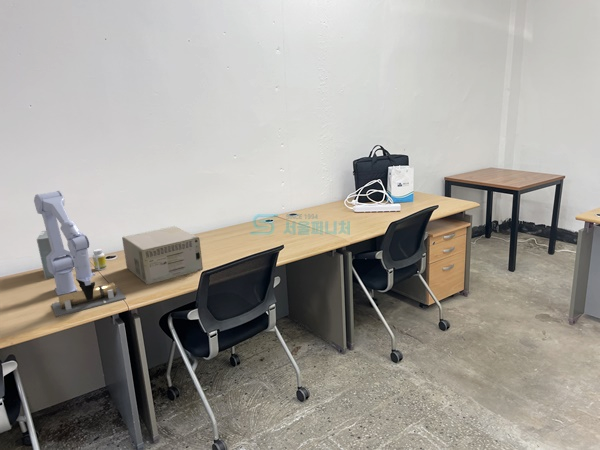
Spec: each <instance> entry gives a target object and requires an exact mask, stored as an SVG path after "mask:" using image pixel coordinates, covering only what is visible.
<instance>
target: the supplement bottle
mask: <svg viewBox="0 0 600 450" xmlns="http://www.w3.org/2000/svg"><path fill="white" fill-rule="evenodd" d="M106 260H107V259H106V256H105V253H103V249H102V248H97V249H96V248H95V249H94V250H93V255H92V261H93V265H94V270H95V271H103V270H106V269H107V267H108V266H107V262H106Z"/></svg>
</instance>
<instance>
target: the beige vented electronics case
mask: <svg viewBox="0 0 600 450" xmlns="http://www.w3.org/2000/svg"><path fill="white" fill-rule="evenodd" d="M121 239H122V245H123V253H124V257H125V258H124V259H125V264H126V265H125V266H126V269H128V271H130V272H131V273H132V274H134V275H135V277H136V276H137V278H138V279H140V280H141V281H142V282H144V283H145V284H146V285H151V284H155V283H158V282H162V281H165V280H168V279H172V278H177V277H180V276H183V275H188V274H191V273H194V272H198V271H202V270H203V269H204V268H203V258H202V250H201V240H200V237H199V236H196V235H194V234H193V233H190V232H188V231H186V230H184V229H182V228H179V227H178V226H175V225H173V226H168V227H164V228H158V229H154V230H149V231H145V232H139V233H135V234H129V235H124V236H122V238H121Z"/></svg>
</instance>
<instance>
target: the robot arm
mask: <svg viewBox="0 0 600 450" xmlns="http://www.w3.org/2000/svg"><path fill="white" fill-rule="evenodd" d="M33 203H34V206H35V211H36V213H37V214H39V215H41V216H42V219H43V223H44V226H45V231H47V235H48V239H49V243H50V246H51V250H52V251H51V252H50V254H49V255H48V256H47V257H46V260H47V268H48V270H49V272H50V273H51V274H54V277H53V279H54V284H55V287H54V291H55V293H56V296H61V295H65V294H69V293H73V292H77V291H78V288H77V285H76V284H75V280H76V282H77V283H78V284H79V285H78V286H79V288H80V289H81V290H83V292H84V294H85V297H86V299H87V300H91V299H93V289H94V287H96V286H95V285H96V282H95V281H92V278H93V277H94V276H96V273H95V272H92V267H91V266H92V265H91V262H90V257H89V251H88V249H89V248H90V241H89V239H88V237H87V235H86V234H85V233H83V232H81V231H80V229H79V228H78V225H77V224H76V222H75V221H72V220H71V219H70V218H69V215H68V213H67V211H66V209H65V196H64V194H63V192H61V191H60V190H56V191H51V192H46V193H39V194H35V196H34V199H33ZM59 223H60V227H59ZM61 232H62V234H63V236H64V238H65V239H66V240H67V247H68V249H65V247H64V242H63V238H62V236H61V235H62V234H61ZM61 256H62V257H61ZM57 257H59V258H57ZM73 270H75V278H74V274H73ZM74 279H75V280H74ZM91 281H92V282H91Z"/></svg>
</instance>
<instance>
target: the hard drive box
mask: <svg viewBox="0 0 600 450" xmlns="http://www.w3.org/2000/svg"><path fill="white" fill-rule="evenodd" d="M36 242H37V243H36V244H37V247H38V251H39V256H40V257H39V258H40V261H41V265H42V270H43V274H44V279H51V278H54V274H51V273H50V272H49V270H48V268H47V260H46V257H47V256H48V255H49V254H50V252H51V251H52V250H51V246H50V243H49V239H48V235H47V231H46V230H42V231H40V233H39V235H38V237H36ZM61 257H62V256H61ZM57 258H59V257H57Z"/></svg>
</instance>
